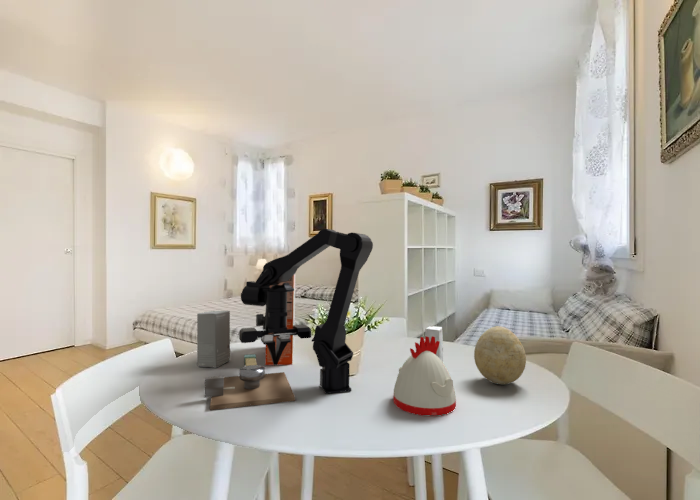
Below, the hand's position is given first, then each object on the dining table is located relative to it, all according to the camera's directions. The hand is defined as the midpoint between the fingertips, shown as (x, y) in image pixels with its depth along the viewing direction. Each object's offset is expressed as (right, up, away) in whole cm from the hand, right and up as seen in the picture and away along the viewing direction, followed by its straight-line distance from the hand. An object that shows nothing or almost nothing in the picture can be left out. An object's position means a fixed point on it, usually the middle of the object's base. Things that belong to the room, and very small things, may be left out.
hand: (275, 364), depth 98 cm
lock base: (-4, -3, -10) cm, 11 cm away
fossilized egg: (+60, -4, -2) cm, 60 cm away
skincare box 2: (+46, -4, +10) cm, 47 cm away
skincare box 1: (-21, -3, +11) cm, 24 cm away
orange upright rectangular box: (-3, -4, +22) cm, 23 cm away
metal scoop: (-5, 0, -6) cm, 8 cm away
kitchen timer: (+37, -4, -16) cm, 41 cm away
